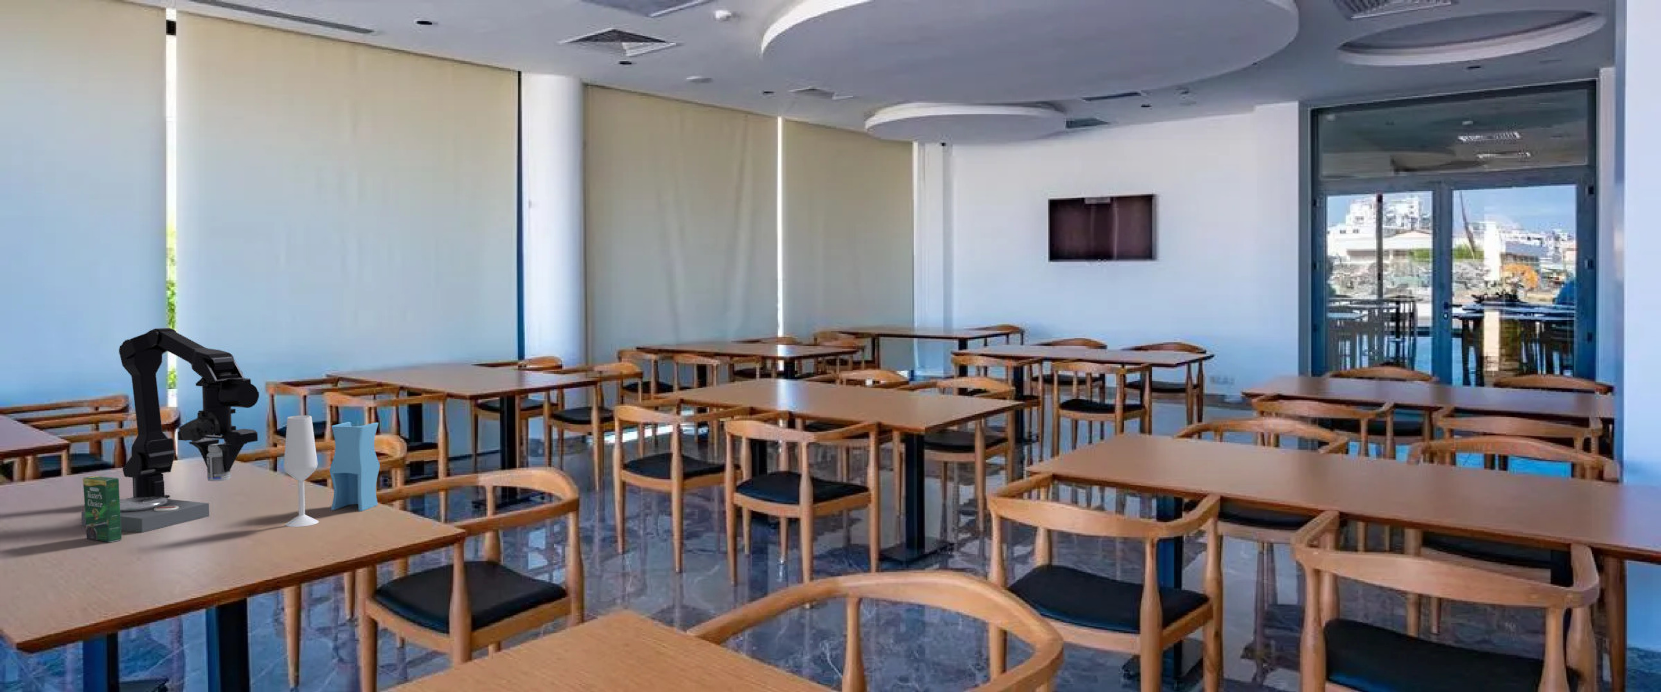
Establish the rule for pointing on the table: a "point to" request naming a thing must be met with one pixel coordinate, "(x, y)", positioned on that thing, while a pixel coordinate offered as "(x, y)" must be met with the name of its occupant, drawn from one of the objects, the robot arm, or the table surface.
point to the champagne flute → (300, 461)
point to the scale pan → (141, 503)
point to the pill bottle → (216, 464)
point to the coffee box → (102, 508)
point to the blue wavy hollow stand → (354, 466)
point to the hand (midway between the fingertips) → (218, 470)
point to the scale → (161, 515)
